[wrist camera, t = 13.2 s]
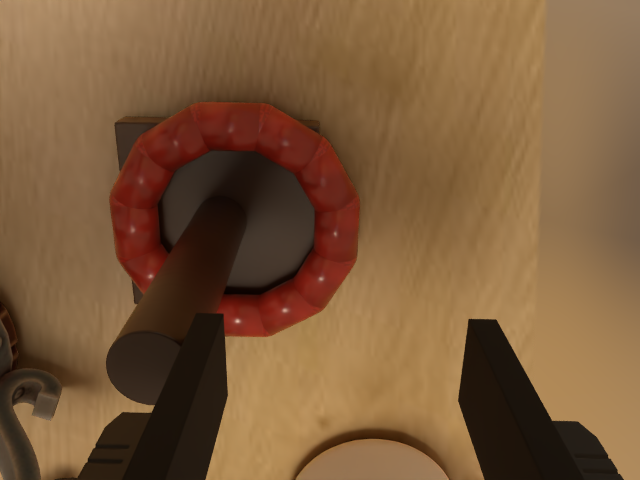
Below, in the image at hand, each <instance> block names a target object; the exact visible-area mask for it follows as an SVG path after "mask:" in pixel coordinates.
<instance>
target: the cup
mask: <svg viewBox="0 0 640 480" xmlns="http://www.w3.org/2000/svg"><path fill="white" fill-rule="evenodd" d="M295 480H449V479H448V477H447V476H446V474H445V473H444V471H443V470H442V469H441V468H440V467H439V465H438V464H437V463H436V462H434V461H433V460H432V459H431V458H430V457H428V456H427V455H425V454H424V453H423V452H421V451H419V450H417V449H415V448H413V447H411V446H409V445H406V444H403V443H399V442H395V441H390V440H383V439H362V440H355V441H350V442H346V443H343V444H340V445H337V446H335V447H332V448H330V449H328V450H326V451H324V452H323V453H321V454H319V455H318V456H317V457H315V458H314V459H313V460H312V461H311V462H309V463H308V464H307V465H306V466H305V467H304V468H303V470H302V471H301V472H300V473H299V475H298V476H297V478H296V479H295Z"/></svg>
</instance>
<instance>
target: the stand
mask: <svg viewBox="0 0 640 480" xmlns="http://www.w3.org/2000/svg"><path fill="white" fill-rule="evenodd" d="M166 119H168V118H166V117H124V118H122V119H120V120H118V121H116V122H115V133H116V142H117V151H118V160H119V169H120V171H121V169H122V167H123V165H124V163H125V161H126V159H127V157H128V155H129V153H130V151H131V149H132V147H133V145H134V143H135V141H136V139H137V138H138V137H139V136H140V135H141V134H143V133H144V132H146V131H148V130H149V129H151V128H153V127H155V126H156V125H158V124H160V123H161V122H163V121H165V120H166ZM297 121H298V122H300V123H302V124H303V125H305V126H307V127H308V128H310V129H311V130H313V131H315V132H316V133H318V134H319V121H313V120H297ZM314 211H315V209H314V208H313V206H312V204H311V202H310V201H309V199H308V197H307V196H306V194H305V192H304V190H303V189H302V187H301V185H300V184H299V182H298V180H297V178H296V177H295V175H294V174H293V173H292V172H290V171H288V170H287V169H285V168H283V167H281V166H280V165H278V164H276V163H274V162H273V161H271V160H269V159H268V158H266V157H264V156H262V155H261V154H259V153H257V152H256V151H215V150H211V151H209V152H207V153H206V154H204V155H202V156H200V157H198V158H197V159H195V160H193V161H191V162H190V163H188V164H186V165H184V166H183V167H181V168H179V169H177V170H176V171H175V172H174V174H173V176H172V178H171V180H170V182H169V184H168V185H167V187H166V189H165V191H164V193H163V195H162V197H161V199H160V201H159V203H158V216H159V227H160V238H161V243H162V245H163V246H164V248H165V249H166V251H167V252H168V253H169V255H168V257H167V258H166V260H165V262H164V263H163V265H162V266H161V268H160V270H159V271H158V273H157V274H156V276H155V277H154V279H153V281H152V282H151V284H150V285H149V287H148V289H147V290H146V292H145V293H144V295H143V293H142V292H141V291H140V289H139V288H138V287H137V285H136V284H135V283H134V281H133V280H132V286H133V295H134V303H135V304H138V305H137V306H136V308H135V309H134V311H133V313H132V314H131V316H130V317H129V319H128V320H127V322H126V324H125V325H124V327H123V328H122V330H121V332H120V333H119V335H118V336H117V338H116V340H115V341H114V343H113V344H112V346H111V348H110V349H109V352H108V354H107V358H106V369H107V373H108V376H109V378H110V380H111V382H112V384H113V385H114V386H115V388H116V389H117V390H118V391H119V392H120V393H122V394H123V395H124V396H126V397H127V398H129V399H131V400H133V401H135V402H138V403H142V404H147V405H155V404H156V402H157V400H158V397H159V395H160V393H161V391H162V389H163V386H164V384H165V382H166V380H167V377H168V375H169V373H170V371H171V368H172V366H173V364H174V362H175V359H176V357H177V355H178V353H179V350H180V348H181V346H182V344H183V341H184V339H185V337H186V335H187V332H188V330H189V328H190V326H191V323H192V321H193V319H194V317H195V315H196V313H217V311H218V308H219V305H220V302H221V299H222V296H223V294H248V295H261V294H263V293H264V292H266V291H268V290H270V289H272V288H274V287H276V286H278V285H280V284H282V283H284V282H286V281H288V280H290V279H292V278H294V277H295V275H296V274H297V272H298V271H299V269H300V268H301V266H302V265H303V263H304V262H305V260H306V258H307V257H308V255H309V254H310V252H311V251H312V249H313V248H314Z"/></svg>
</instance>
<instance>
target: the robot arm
mask: <svg viewBox="0 0 640 480" xmlns="http://www.w3.org/2000/svg"><path fill="white" fill-rule="evenodd" d="M227 396H228V390H227V371H226V351H225V331H224V314H221V313H196V315H195V317H194V319H193V321H192V323H191V326H190V328H189V330H188V332H187V335H186V337H185V339H184V341H183V344H182V346H181V348H180V350H179V353H178V355H177V357H176V359H175V362H174V364H173V366H172V368H171V371H170V373H169V375H168V377H167V380H166V382H165V384H164V386H163V389H162V391H161V393H160V395H159V397H158V400H157V402H156V404H155V406H154V409H153V411H152V413H129V412H122V413H121V414H120V415H119V416H117V417H116V418H115V419H114V420H113V421H112V422H111V423H109V424H108V425H107V426H106V427H105V428H104V430H103V432H102V434H101V436H100V438H99V439H98V441H97V443H96V447H95V448H94V449H93V450H92V452H91V454H90V456H89V458H88V462H87V463H85V465H84V467H83V469H82V471H81V473H80V474H79V476H78V478H74V477H72V478H60V479H56V480H205V479H206V475H207V472H208V468H209V464H210V460H211V457H212V453H213V449H214V445H215V442H216V438H217V434H218V430H219V427H220V423H221V419H222V415H223V411H224V408H225V404H226V400H227ZM458 402H459V405H460V408H461V411H462V414H463V417H464V420H465V423H466V426H467V429H468V432H469V435H470V438H471V441H472V443H473V446H474V449H475V452H476V455H477V458H478V461H479V464H480V467H481V470H482V473H483V476H484V479H485V480H624V479H623V478H622V476H621V475H620V474H618V472H617V469H616V467H615V465H614V464H613V462H612V461H611V459H609V458H608V454H607V453H606V451H605V450H604V448H603V446H602V445H601V443H600V442H599V440H598V439H597V437H596V436H595V435H593V434H592V433H591V432H590V431H588V430H587V429H586V428H585V427H584V426H583V425H581V424H580V423H579V422H575V421H552V420H551V418H550V416H549V414H548V413H547V411H546V409H545V407H544V405H543V403H542V402H541V400H540V398H539V396H538V394H537V393H536V391H535V389H534V387H533V385H532V383H531V382H530V380H529V378H528V376H527V374H526V373H525V371H524V369H523V367H522V365H521V363H520V362H519V360H518V358H517V356H516V354H515V353H514V351H513V349H512V347H511V345H510V344H509V342H508V340H507V338H506V336H505V334H504V333H503V331H502V329H501V327H500V325H499V324H498V322H497V320H491V319H469V321H468V329H467V336H466V344H465V352H464V359H463V367H462V375H461V383H460V390H459V398H458Z"/></svg>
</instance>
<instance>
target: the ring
mask: <svg viewBox="0 0 640 480" xmlns="http://www.w3.org/2000/svg"><path fill="white" fill-rule="evenodd" d="M211 150H215V151H256V152H257V153H259V154H261V155H262V156H264V157H266V158H268V159H269V160H271V161H273V162H274V163H276V164H278V165H280V166H281V167H283V168H285V169H287V170H288V171H290V172H292V173H293V174H294V175H295V177H296V178H297V180H298V182H299V184H300V185H301V187H302V189H303V190H304V192H305V194H306V196H307V197H308V199H309V201H310V202H311V204H312V206H313V208H314V209H315V211H314V248H313V249H312V251H311V252H310V254H309V255H308V257H307V258H306V260H305V262H304V263H303V265H302V266H301V268H300V269H299V271H298V272H297V274H296V275H295V277H294V278H292V279H290V280H288V281H286V282H284V283H282V284H280V285H278V286H276V287H274V288H272V289H270V290H268V291H266V292H264V293H263V294H261V295H248V294H223V296H222V299H221V302H220V305H219V308H218V311H217V313H221V314H224V331H225V336H240V337H268V336H272V335H274V334H276V333H278V332H280V331H282V330H284V329H286V328H288V327H291V326H293V325H295V324H297V323H299V322H301V321H303V320H305V319H307V318H309V317H311V316H313V315H315V314H317V313H319V312H321V311H322V310H323V309H324V308H325V307H326V306H327V304H328V303H329V301H330V300H331V298H332V297H333V295H334V294H335V292H336V291H337V289H338V288H339V287H340V285H341V284H342V282H343V281H344V279H345V278H346V276H347V275H348V273H349V272H350V270H351V269H352V268H353V266H354V264H355V262H356V260H357V252H358V231H359V210H360V199H359V196H358V194H357V191H356V190H355V188H354V186H353V184H352V182H351V181H350V179H349V177H348V175H347V173H346V171H345V170H344V168H343V166H342V164H341V162H340V161H339V159H338V157H337V155H336V153H335V151H334V150H333V148H332V146H331V144H330V143H329V141H328V140H327V139H326V138H324V137H323V136H321V135H320V134H318V133H316V132H315V131H313V130H311V129H310V128H308V127H307V126H305V125H303V124H302V123H300V122H298V121H297V120H295V119H293V118H292V117H290V116H288V115H287V114H285V113H283V112H282V111H280V110H278V109H277V108H275V107H273V106H271V105H269V104H265V103H237V102H198V103H194V104H192V105H190V106H189V107H187V108H185V109H183V110H182V111H180V112H178V113H177V114H175V115H173V116H172V117H170V118H168V119H166V120H165V121H163V122H161V123H160V124H158V125H156V126H155V127H153V128H151V129H149V130H148V131H146V132H144V133H143V134H141V135H140V136H139V137H138V138H137V139H136V141H135V143H134V145H133V147H132V149H131V151H130V153H129V155H128V157H127V159H126V161H125V163H124V165H123V167H122V169H121V171H120V173H119V175H118V177H117V179H116V182H115V184H114V186H113V188H112V190H111V192H110V197H109V201H110V210H111V218H112V227H113V235H114V243H115V251H116V256H117V259H118V261H119V262H120V264H121V265H122V267H123V268H124V269H125V271H126V272H127V273H128V275H129V276H130V277H131V279H132V280H133V281H134V283H135V284H136V285H137V287H138V288H139V289H140V291H141V292H142V293H143V295H144V293H145V292H146V290H147V289H148V287H149V285H150V284H151V282H152V281H153V279H154V277H155V276H156V274H157V273H158V271H159V270H160V268H161V266H162V265H163V263H164V262H165V260H166V258H167V257H168V255H169V253H168V252H167V251H166V249H165V248H164V246H163V245H162V243H161V238H160V227H159V216H158V203H159V201H160V199H161V197H162V195H163V193H164V191H165V189H166V187H167V185H168V184H169V182H170V180H171V178H172V176H173V174H174V172H175V171H176V170H177V169H179V168H181V167H183V166H184V165H186V164H188V163H190V162H191V161H193V160H195V159H197V158H198V157H200V156H202V155H204V154H206V153H207V152H209V151H211Z"/></svg>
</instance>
